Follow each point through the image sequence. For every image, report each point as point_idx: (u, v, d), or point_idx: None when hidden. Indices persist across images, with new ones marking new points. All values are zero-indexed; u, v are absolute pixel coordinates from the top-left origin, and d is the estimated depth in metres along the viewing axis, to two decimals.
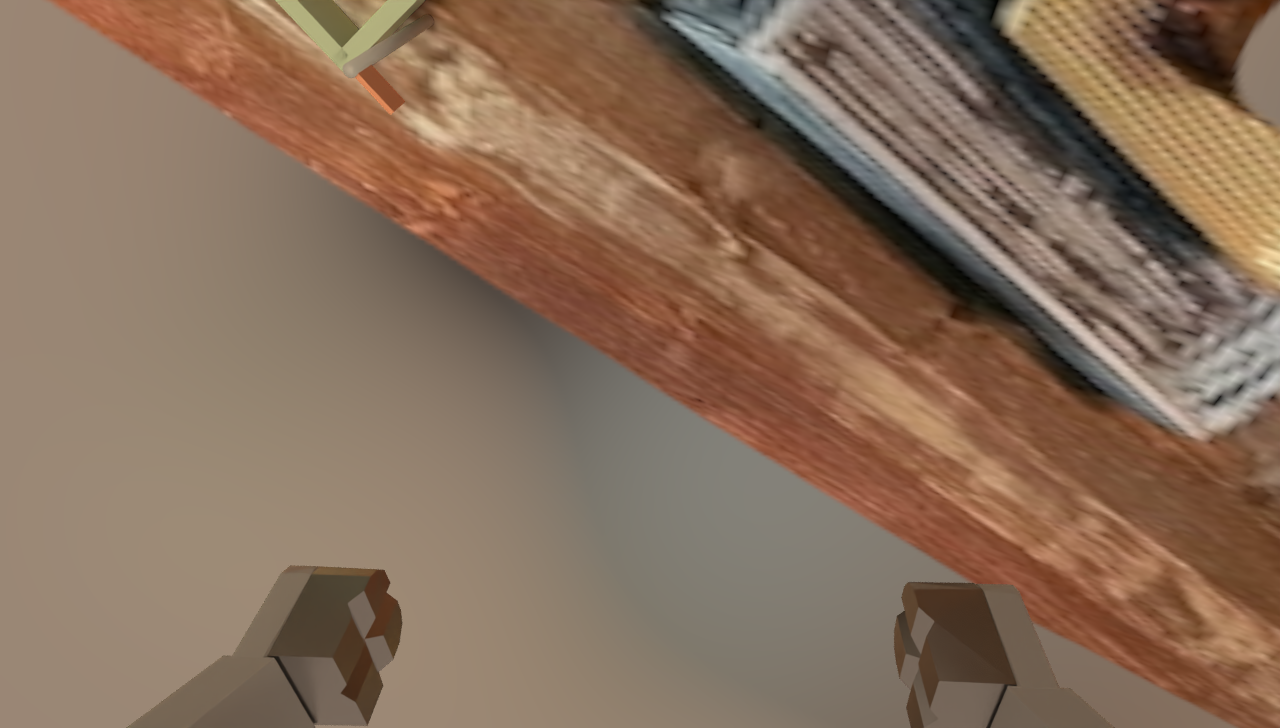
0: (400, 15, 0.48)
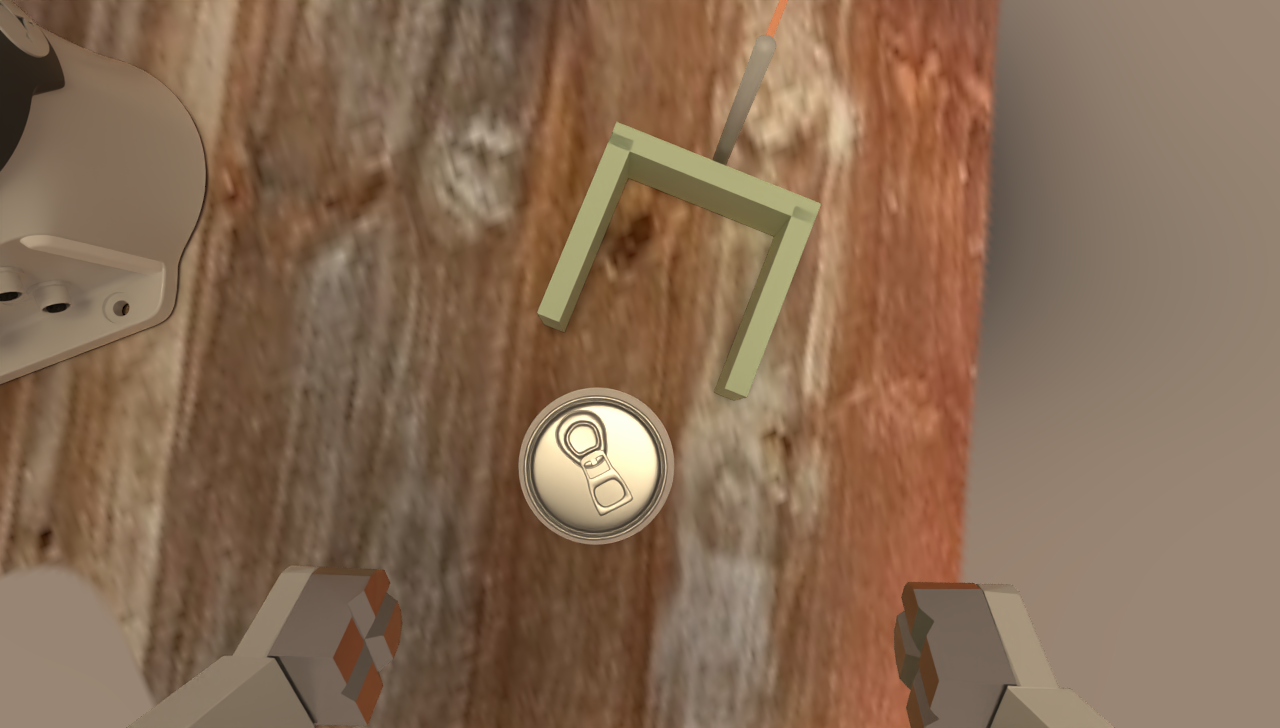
0: (712, 161, 0.38)
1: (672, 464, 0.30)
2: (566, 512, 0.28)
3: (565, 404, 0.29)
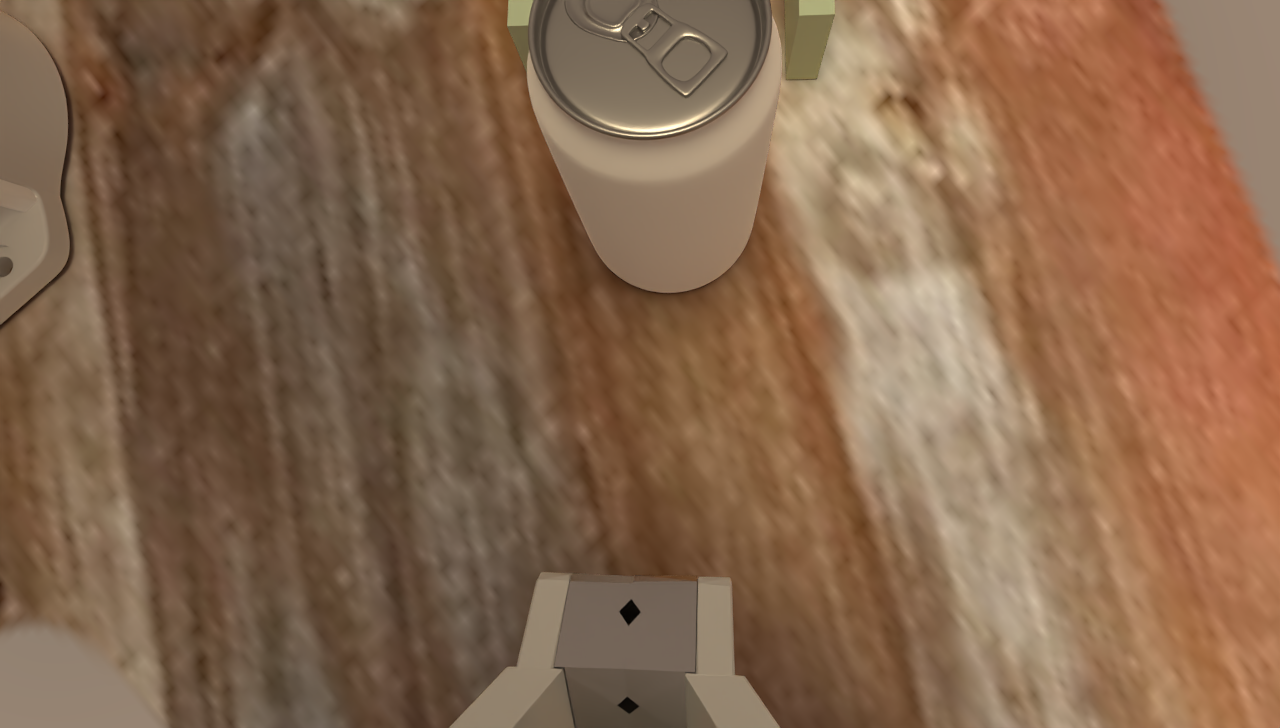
0: None
1: None
2: (630, 114, 0.17)
3: None
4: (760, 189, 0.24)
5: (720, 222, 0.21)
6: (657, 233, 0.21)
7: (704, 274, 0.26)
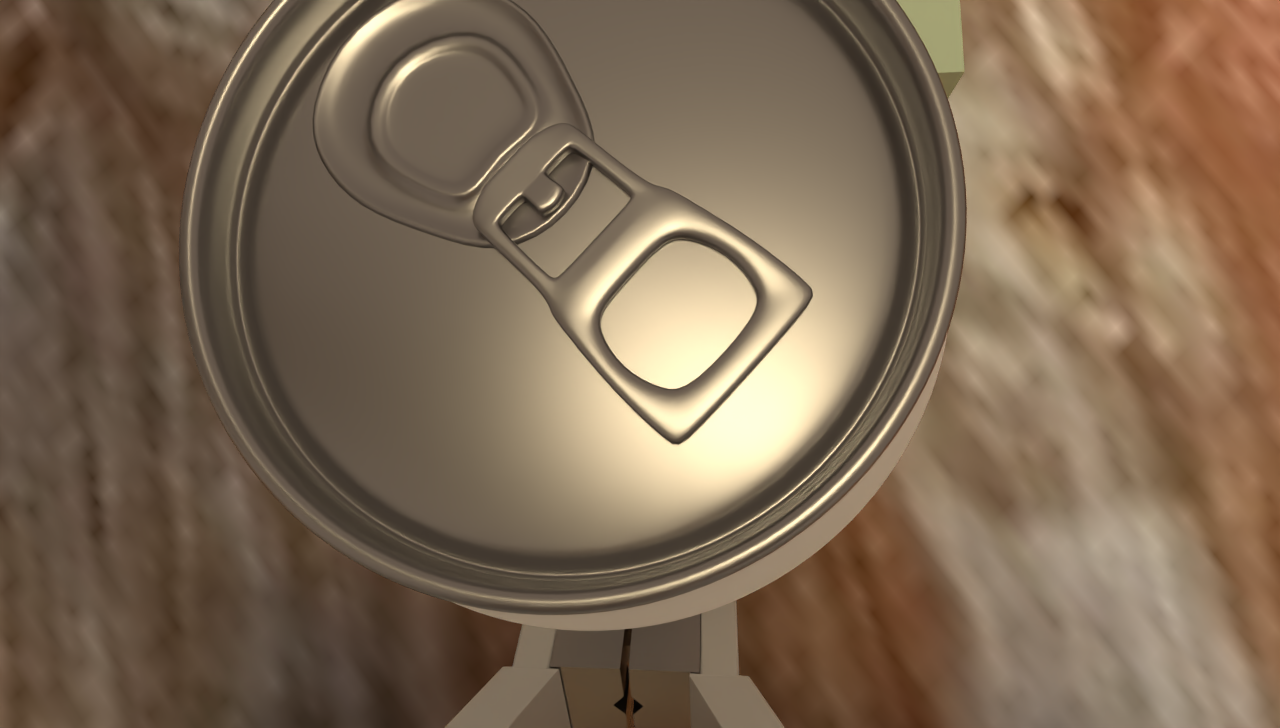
0: None
1: None
2: (494, 495, 0.05)
3: None
4: None
5: None
6: None
7: None
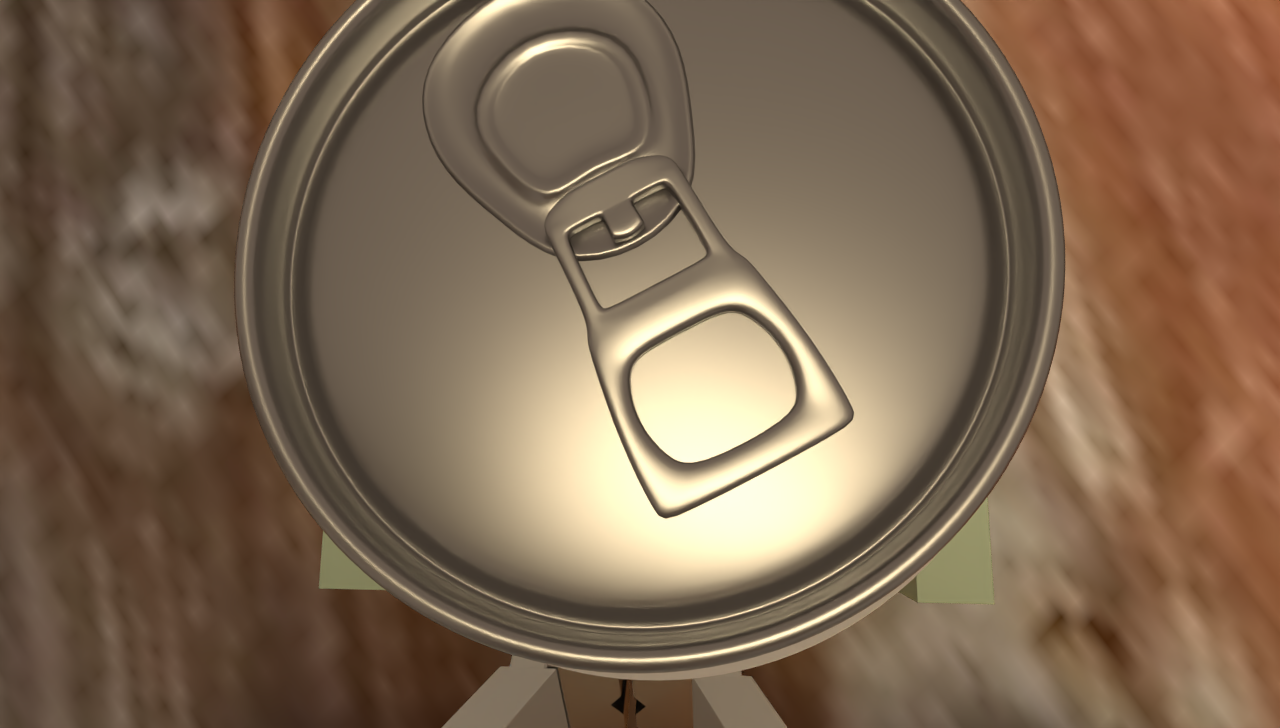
0: None
1: None
2: (468, 500, 0.05)
3: None
4: None
5: None
6: None
7: None
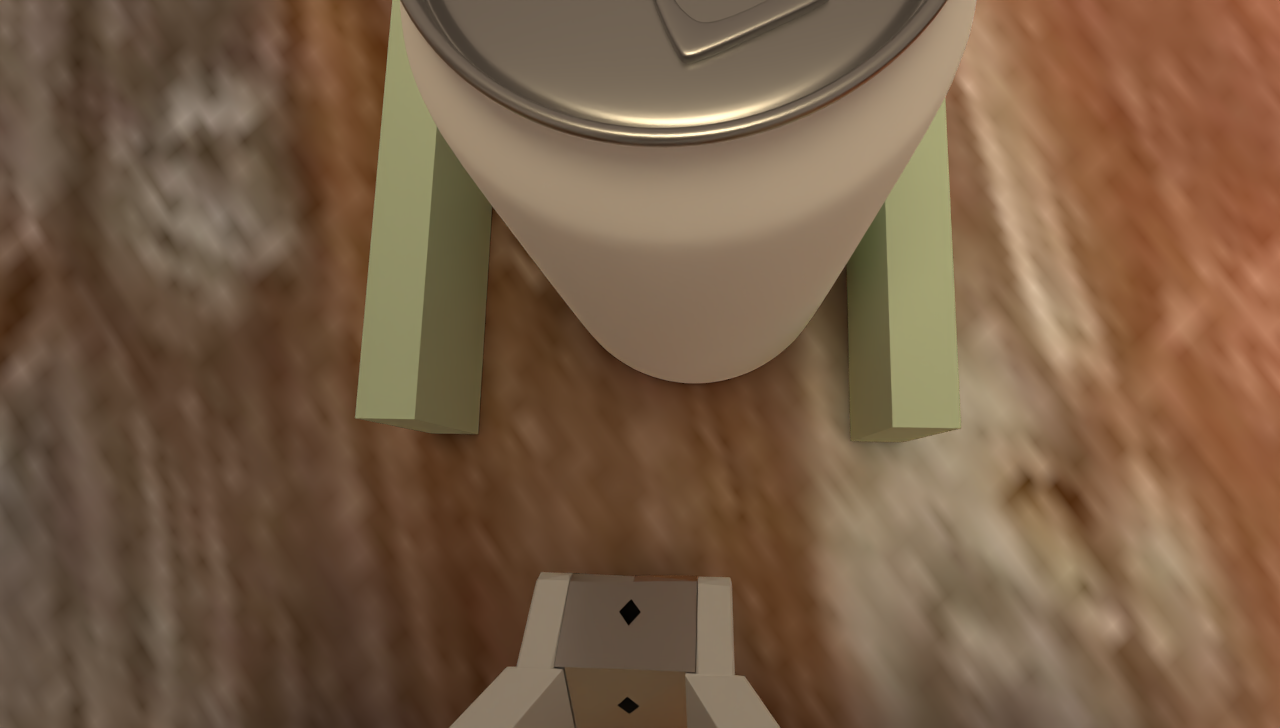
0: None
1: None
2: (541, 49, 0.07)
3: None
4: (827, 290, 0.13)
5: (720, 328, 0.11)
6: (596, 304, 0.11)
7: (693, 375, 0.16)
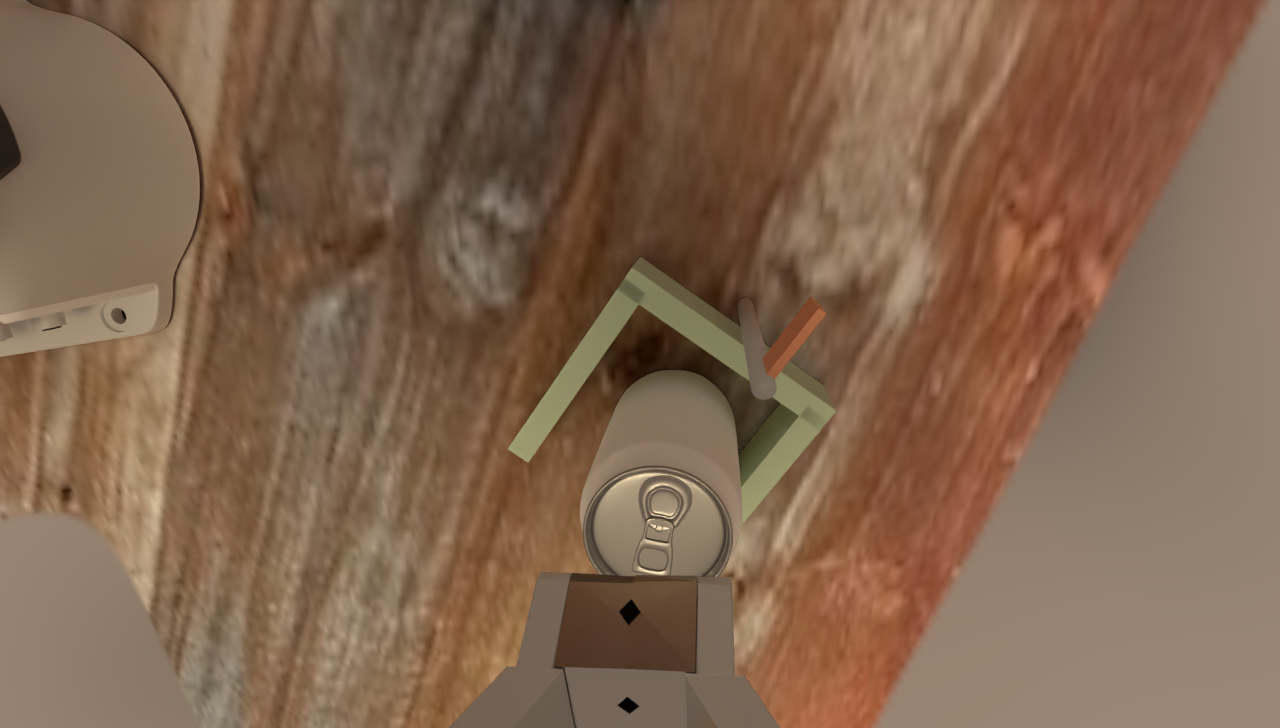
0: (729, 337, 0.33)
1: None
2: (606, 547, 0.28)
3: (670, 470, 0.26)
4: None
5: None
6: None
7: None
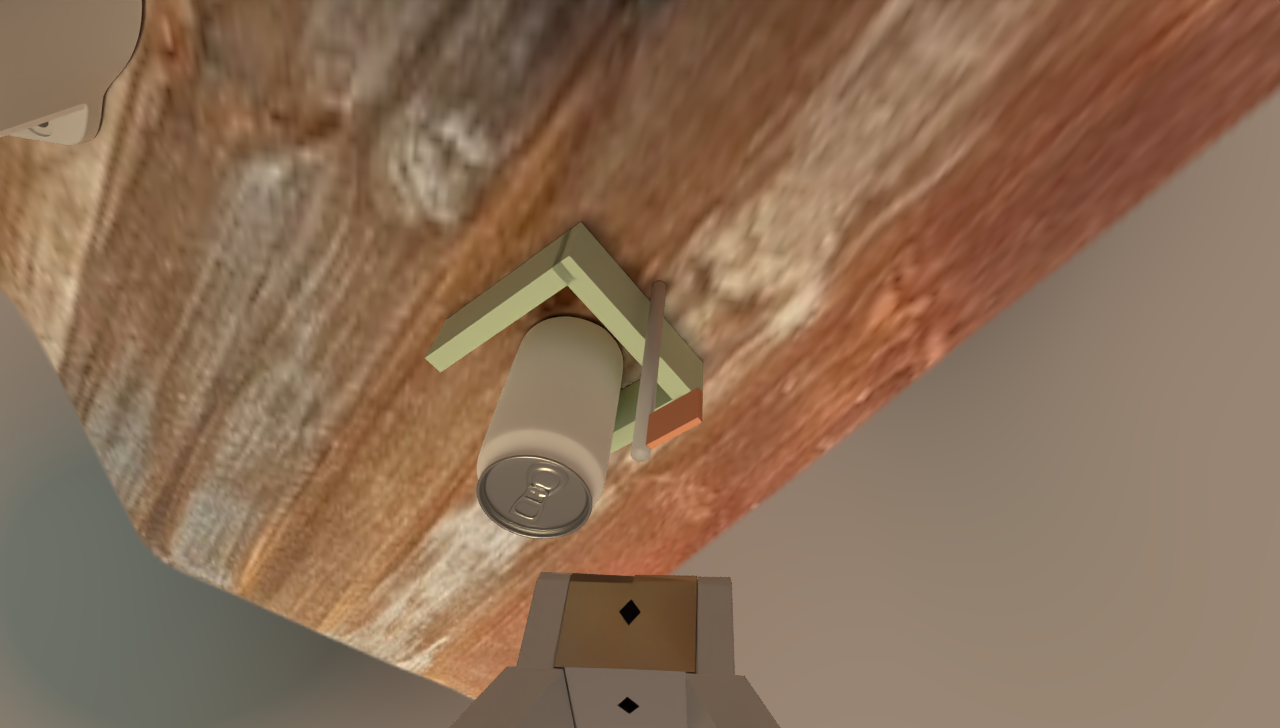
0: (635, 330, 0.39)
1: None
2: (493, 494, 0.36)
3: (556, 463, 0.34)
4: None
5: None
6: None
7: None
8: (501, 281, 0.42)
